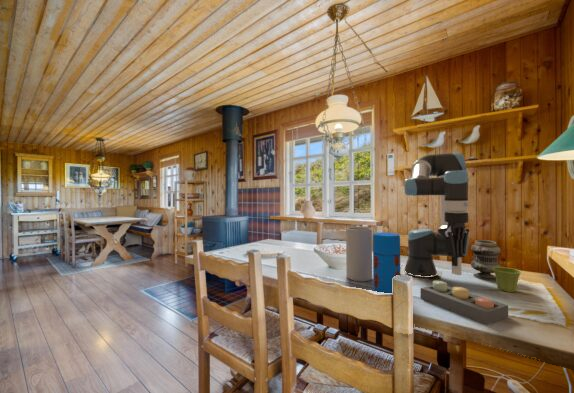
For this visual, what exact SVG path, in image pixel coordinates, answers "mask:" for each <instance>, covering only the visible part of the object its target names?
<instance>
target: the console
mask: <svg viewBox="0 0 574 393" xmlns="http://www.w3.org/2000/svg"><path fill="white" fill-rule="evenodd" d="M453 287H454V286H453ZM453 287H452V286H449V285H447V292H443V293H442V292H439V291H436V290H433V284H432V285H429V286H427V285H426V286H423V287H420V299H422V300H424V301H427V302H430V303H432V304H435V305H436V306H437V305H438V306H439V307H442V308H444V309H446V310H449V311H452V312H455V313H456V314H457V313H458V314H460V315H463V316H464V317H467V318H470V319H472V320H475V321H477V322H480V323H482V324H485V325H487V326H488V325H491V324H493V323H496V322H498V321H501V320H504V319H506V318H509V305H508V304H506V303H502V302H499V301H496V300H492V299H491V300H492V301H493V302H494V308H491V309H487V308H484V307H482V306H479V305H476V304H475V299H476V298H486V297H484V296H481V295H477V294H475V293H471V292H469V299H467V300H462V299H459V298H456V297H453V296H452V288H453ZM486 299H488V298H486Z"/></svg>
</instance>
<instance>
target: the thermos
mask: <svg viewBox="0 0 574 393" xmlns="http://www.w3.org/2000/svg"><path fill="white" fill-rule="evenodd" d="M400 236H401V235H400V234H399V233H395V232H374V233H373V232H372V279H373V280H372V282H373V283H372V284H373V292H374V291H377V292H384V293H392V278H393V277H394V276H396V275H400V276H401V237H400Z"/></svg>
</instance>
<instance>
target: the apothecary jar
mask: <svg viewBox="0 0 574 393" xmlns="http://www.w3.org/2000/svg"><path fill="white" fill-rule="evenodd" d="M470 249H471V252H473V260H471V262H470V266H471V268H473V270H475V271H478V272H476V273H473V276H474V277H475V278H478V279H481V280H485V281H486V280H487V281H496V276H495V275H494V274H495V273H494V270H493V268H494V267H502V266H501V265H500V264H499V260H498V259H499V256H498V255H499V254H501V252H502V250H501V248H500V247H499V246H498V244H497V242H496V241H493V240H487V239H477V240H475V241H474V244H472V245H471V246H470Z"/></svg>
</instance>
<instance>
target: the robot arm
mask: <svg viewBox="0 0 574 393" xmlns="http://www.w3.org/2000/svg"><path fill="white" fill-rule="evenodd" d="M466 165H467V164H466V159H465V156H464V155H463V154H462V153H461V152H451V153H450V152H448V153H436V154H428V155H424V156H421V157H419V158H418V159H416V160H415V161H413V163H412V165H411V168H410V171H411V178H406V179H405V180H404V195H406V196H412V197H414V196H415V197H416V196H419V197H420V196H423V197H424V196H440V226H439V227H438V228H437V231H436V232H435V231H434V230H433V229H432V228H418V229H413V230H410V231H408V233H407V237H408V238H407V244H408V245H407V261H406V264H405V266H404V272H405V271H406V272H407V273H411V274H413V275H421V276H431V275H436V274H437V275H438V270H437V268H436V265H435V263H434V256H440V257H448V258H449V257H451V274H452V275H457V276H461V275H462V270H463V269H462V258H465V257H466V256H467V253H468V249H469V248H468V247H469V242H470V241H469V238H470V235H469V233H470V229H469V228H466V224H468V223H469V212H468V211H469V206H470V204H469V180H470V179H469V174H468V171H467V166H466ZM430 176H431V177H430Z"/></svg>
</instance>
